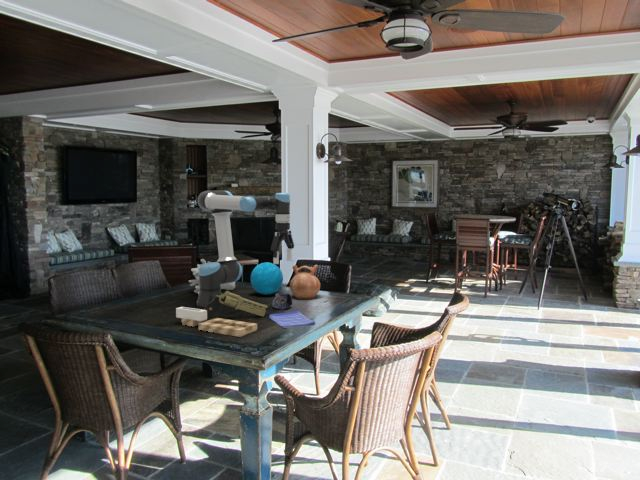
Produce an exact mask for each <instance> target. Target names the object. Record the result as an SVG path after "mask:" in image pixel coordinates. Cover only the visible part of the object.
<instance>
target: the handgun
mask: <svg viewBox="0 0 640 480" xmlns="http://www.w3.org/2000/svg"><path fill="white" fill-rule="evenodd" d="M220 292H221V293H222V294H221V295H220V294H218V295H216V296H215V298H214V299H213V300H212V301H211V302H209V303H208V304H207V305H206V307H204V309H203V310H207V321H209V320H212V316H214V314H215V312H216V311H217V310H218V311H219V312H220V313H222V314H229V313H231V312H232V310H235V311H238V310H239V311H244V312H247V313H249V314H253V315H257V316H259V317H265V315H266V311H267V309H268V305H267V304H265V303H264V304H263V303H259V302H256V301H253V300H250V299H247V298H245V297H242V296H241V295H239V294H236V293H233V292H230V290H226V291H225V292H223V291H222V290H221V291H220ZM221 308H222V309H221ZM224 308H229V310H227V311H224Z"/></svg>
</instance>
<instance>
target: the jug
mask: <svg viewBox="0 0 640 480" xmlns="http://www.w3.org/2000/svg"><path fill="white" fill-rule="evenodd" d="M317 267H318V265H317V264H315V265H313V266H308V265H302V266H299V267H298V266H297V264H295V265H293V266H292V270H293V271H294V272H293V273H294V275H293V277H292V279H291V280H290V282H289V290H290V291H291V293H292V295H293V296H294V298H296V299H298V300H311V299H314V298H316V297H317V295H318V293H319V292H320V289H321V282H320V280H319V278H318V277H317V276H316V275H315V272H316V271H317ZM303 269H306V270H307V271H301V270H303Z"/></svg>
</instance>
